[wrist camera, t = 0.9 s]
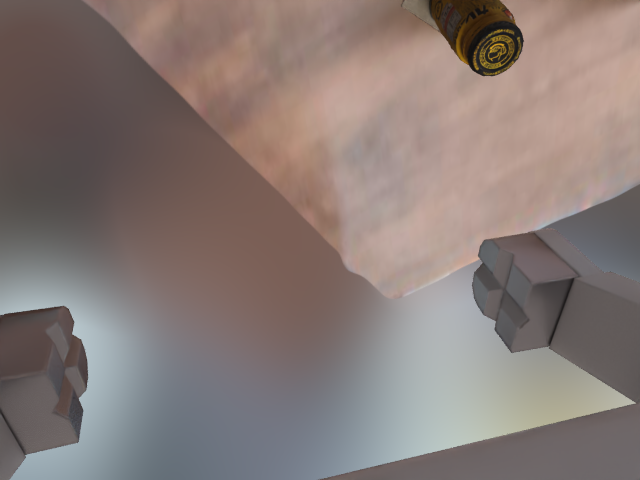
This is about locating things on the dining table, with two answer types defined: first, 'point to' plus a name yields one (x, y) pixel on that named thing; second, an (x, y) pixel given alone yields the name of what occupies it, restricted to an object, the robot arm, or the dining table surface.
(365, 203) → the dining table surface
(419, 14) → the condiment
